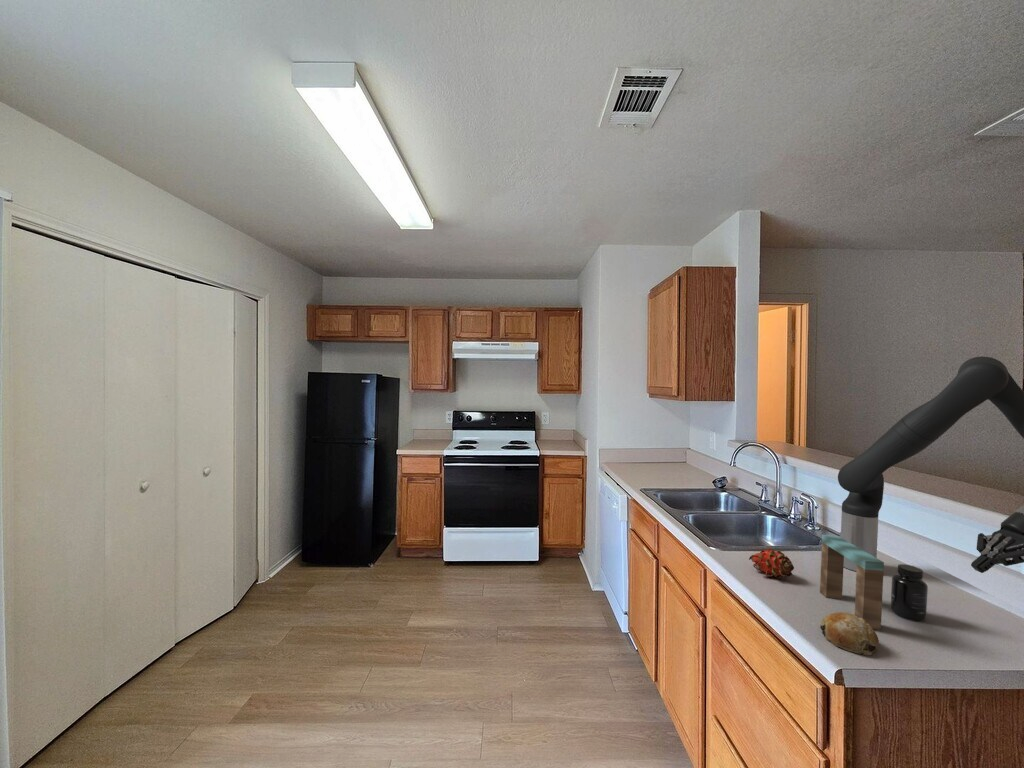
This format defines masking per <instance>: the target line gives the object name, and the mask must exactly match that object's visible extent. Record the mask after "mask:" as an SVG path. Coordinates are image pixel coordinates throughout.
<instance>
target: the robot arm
mask: <svg viewBox="0 0 1024 768" xmlns="http://www.w3.org/2000/svg"><path fill="white" fill-rule="evenodd" d="M1008 370H1009V369H1008V368H1007V366H1006V365H1005V364H1004V363H1003V362H1002V361H1001V360H998V359H996V358H994V357H992V356H991V357H990V356H976V357H972V358H969V359H967V360H965V361H964V362H963V363H961V365H960V367H959V369H958V370H957V373H956V375H955V377H954V378H953V379H952V381H950V382H949V383H948V385H946V387H944V388H943V390H942V391H941V392H939V393H938V394H937V395H936V396H934V397H933V398H932V399H930V400H928V401H927V402H925V403H923V404H921V405H919V406H917V407H916V408H914V409H912V410H911V411H909V412H908V413H907V414H905V415H904V416H903V417H902V418H900V419H899V420H898V421H897V422H896V423H895V424H893V425H892V426H891V427H890V428H889V429H888V430H887V431H886V432H885V433H884V434H883V435H881V436H880V437H879V438H878V439H877V440H876V441H874V443H872V444H871V446H870V447H868V448H867V449H866V450H865V451H863V452H862V453H861V454H859V455H858V456H856V457H855V458H854V459H852V460H850V461H849V462H847V463H845V464H844V465H843V466H842V467H841V468H840V469H839V471H838V474H837V481H838V484H839V486H840V487H841V488H842V489H843V490H845V491H847V492H848V495H847V497H846V498H845V499H844V500H843V501H842V503H841V517H840V518H841V521H840V522H841V523H840V524H841V525H840V532H839V537H841V538H842V539H844V540H846V541H848V542H849V543H851V544H853V545H855V546H856V547H858V548H860V549H862V550H863V551H865V552H867V553H868V554H870V555H872V556H874V557H875V558H877V557H878V537H879V536H878V534H879V513H880V510H881V508H882V505H883V500H884V489H885V478H884V475H883V473H884V472H886V471H887V470H888V469H890V468H891V467H893V466H895V465H897V464H899V463H902V462H903V461H906V460H907V459H911V458H913V456H916V455H917V454H919V453H921V452H922V451H924V450H925V449H927V448H928V447H929V446H930V445H932V444H933V443H934V442H935V441H937V440H938V439H939V438H940V437H942V435H944V434H945V433H946V432H947V431H948V430H950V429H951V428H952V427H953V426H954V425H955V424H956V423H958V421H959V420H960V419H961V418H962V417H963V416H965V415H966V414H967V413H969V412H970V411H973V409H975V408H976V407H978V406H980V405H981V404H983V403H984V402H985V401H986V402H987V400H988V401H989V402H990V403H992V404H993V405H994V406H995V407H996V408H997V409H998V410H999V411H1000V412H1001V413H1002V414H1003V416H1004V417H1005V418H1006V419H1007V421H1009V423H1010V424H1011V426H1012V427H1013V428H1014V429H1015V431H1016V432H1017V433H1018V434H1019V435H1020V436H1021V438H1022V439H1024V390H1023V389H1022V388H1021V387H1020V385H1019V384H1018V383H1017V381H1016V380H1015V379H1014V378H1013V376H1012V375H1011V374H1010V372H1009V371H1008ZM975 549H976V550H977V552H979V554H980V555H979V556H978V557H976V558H975V559H974V560H973V561H971V563H970V566H971V568H973V570H975V571H976V572H979V573H981V574H983V573H986V572H988V571H989V570H990V569H992V568H993V567H994V566H995V565H996V566H997V565H1000V564H1001V565H1003V566H1005V567H1008V566H1012V565H1018V564H1019V565H1020V564H1023V563H1024V504H1023V505H1022V506H1020V507H1019V508H1018V509H1017V510H1015V511H1014V512H1013V513H1011V514H1010V515H1009V516H1008V517H1007V518H1006V519H1004V520H1002V522H1000V529H999V530H997V531H993V532H992V533H991V534H988V535H985V534H984V533H983V532H980V533H978V534H977V540H976V548H975ZM877 559H878V558H877ZM843 568H845V569H848V570H850V571H853V572H857V564H856V563H854V562H853V561H851V560H850V559H848V558H846V557H845V556H844V567H843Z"/></svg>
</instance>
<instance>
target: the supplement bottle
mask: <svg viewBox="0 0 1024 768" xmlns="http://www.w3.org/2000/svg"><path fill="white" fill-rule="evenodd" d="M896 572H897V574H894V575H893V576H892V577H891V586H890V587H891V588H890V589H891V590H890V610H891V612H892V613H893V614H894V615H897V616H899V617H901V618H903V619H905V620H909V621H913V622H924V621H925V620H926V619H927V614H928V613H927V609H928V594H929V593H928V591H929V587H928V584H927V583H926V582H925V580H923V579H924V571H923V569H921V568H919V567H917V566H915V565H910V564H904V563H900V564H897V570H896Z"/></svg>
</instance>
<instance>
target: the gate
mask: <svg viewBox="0 0 1024 768" xmlns="http://www.w3.org/2000/svg"><path fill="white" fill-rule="evenodd" d="M844 556H845V557H846V558H848V559H850V560H851V561H853V562H854V563H856V564H857V571H856V576H855V577H856V578H855V601H854V615H855V616H857V617H859V618H863V619H864V620H865V621H866V623H868V624H869V625H870V626H871V627H872V628H873V629H874V630H877V631H878V630H882V613H883V612H882V609H883V591H884V567H885V562H884V561H882V560H880V559H879V558H875V557H874V556H872V555H870V554H868V553H867V552H865V551H863V550H862V549H860V548H858V547H856V546H855V545H853V544H851V543H849V542H848V541H846V540H844V539H842V538H841V537H840V535H829V534H822V535H821V557H820V558H821V559H820V560H821V561H820V582H819V593H820V594H821V595H822V596H824V597H825V598H827V599H837V598H838V599H839V600H843V587H844V586H843V585H844V568H845V567H844ZM838 599H837V600H838Z"/></svg>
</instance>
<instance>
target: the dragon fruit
mask: <svg viewBox="0 0 1024 768" xmlns="http://www.w3.org/2000/svg"><path fill="white" fill-rule="evenodd" d="M748 560H749V561H750V560H751V562H752V563H753V564H752V566H753V568H754V569H756V570H757V571H760V572H762V573H764V574H765V576H766V577H767V578H771V577H773V576H774V577H775V578H776V579H782V578H783V577H791V576H793V573H792V572H793V571H794V570H795V567H794V564H793V562H792V561H791V560H790V558H789V557H788V556H786V555H785V553H783V552H782V551H780V550H779V549H777V550H776V551H775V550H774V549H773V548H768V547H767V548H765V549H761V550H760V552H757V553H754V554H751V555H750V556H749V558H748Z"/></svg>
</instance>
